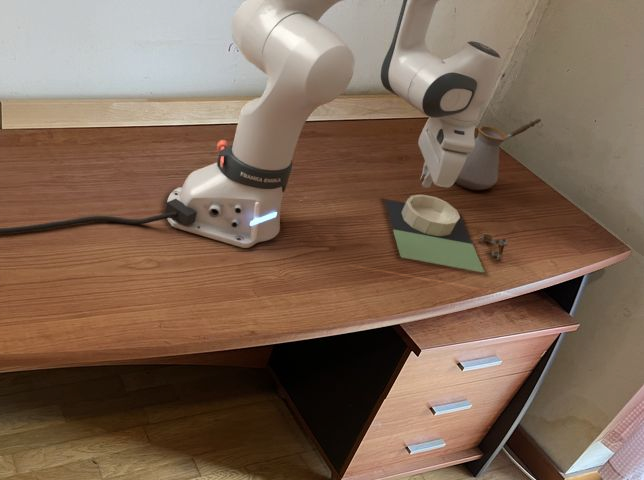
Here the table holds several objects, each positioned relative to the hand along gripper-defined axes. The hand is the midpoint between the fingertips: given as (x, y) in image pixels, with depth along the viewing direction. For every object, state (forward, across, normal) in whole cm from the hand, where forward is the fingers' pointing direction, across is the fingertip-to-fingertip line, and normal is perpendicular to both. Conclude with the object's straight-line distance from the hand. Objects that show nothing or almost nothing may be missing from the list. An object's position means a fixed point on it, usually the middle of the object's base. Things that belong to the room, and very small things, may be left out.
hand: (424, 184), depth 157 cm
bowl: (+3, +10, 0) cm, 11 cm away
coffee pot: (+4, -15, +18) cm, 24 cm away
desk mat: (+3, +15, 0) cm, 16 cm away
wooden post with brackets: (+4, +17, +12) cm, 22 cm away
